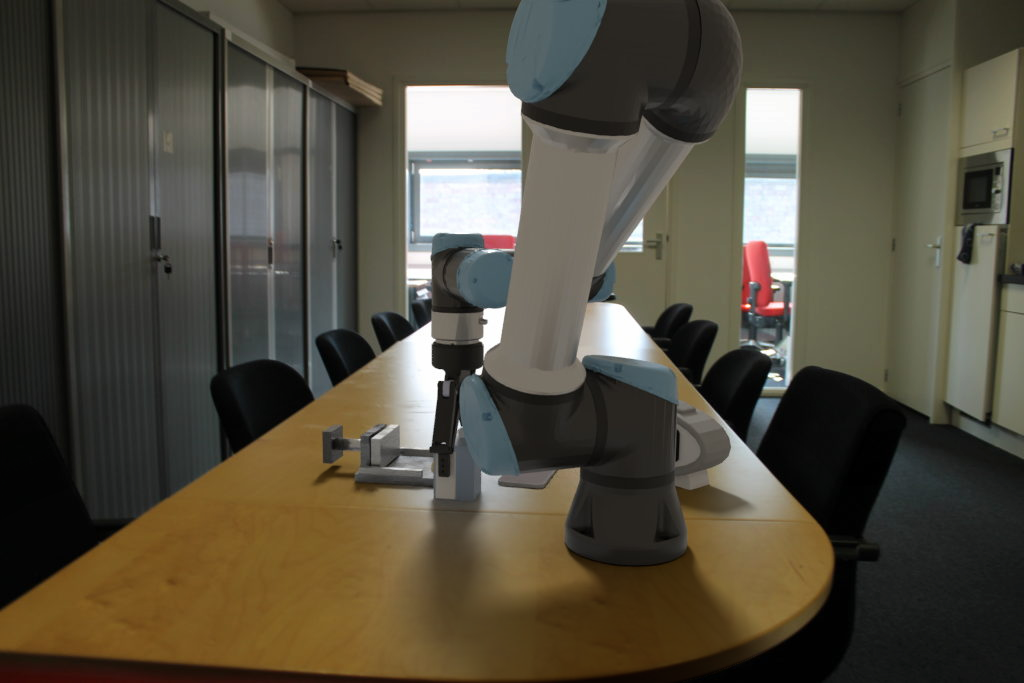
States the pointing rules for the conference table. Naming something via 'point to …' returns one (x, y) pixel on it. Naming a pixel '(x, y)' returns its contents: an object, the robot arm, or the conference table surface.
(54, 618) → the conference table surface
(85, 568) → the conference table surface
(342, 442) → the ram
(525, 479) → the smartphone
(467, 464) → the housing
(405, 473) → the press bed
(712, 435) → the alarm clock
